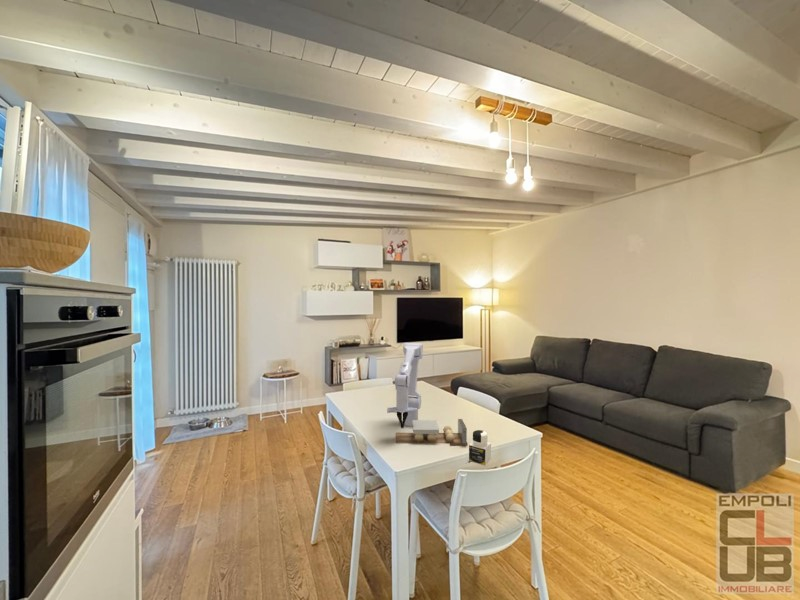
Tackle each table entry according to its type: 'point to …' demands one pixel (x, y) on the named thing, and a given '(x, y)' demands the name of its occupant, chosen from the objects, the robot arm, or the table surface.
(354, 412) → the table surface
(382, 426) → the table surface
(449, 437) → the roller
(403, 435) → the roller board
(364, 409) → the table surface
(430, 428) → the slab
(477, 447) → the medicine bottle
